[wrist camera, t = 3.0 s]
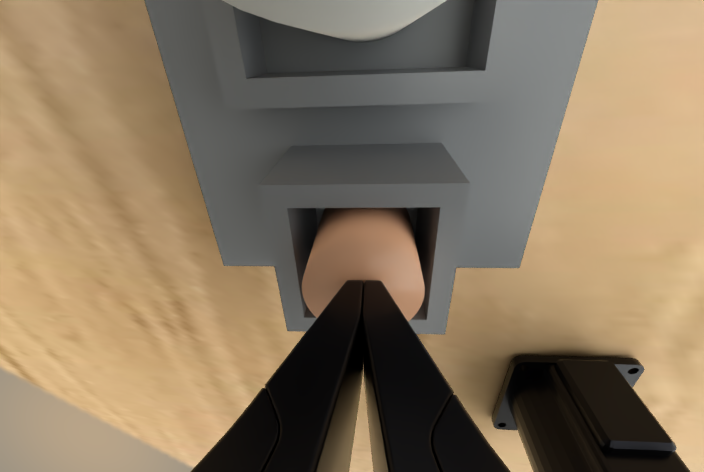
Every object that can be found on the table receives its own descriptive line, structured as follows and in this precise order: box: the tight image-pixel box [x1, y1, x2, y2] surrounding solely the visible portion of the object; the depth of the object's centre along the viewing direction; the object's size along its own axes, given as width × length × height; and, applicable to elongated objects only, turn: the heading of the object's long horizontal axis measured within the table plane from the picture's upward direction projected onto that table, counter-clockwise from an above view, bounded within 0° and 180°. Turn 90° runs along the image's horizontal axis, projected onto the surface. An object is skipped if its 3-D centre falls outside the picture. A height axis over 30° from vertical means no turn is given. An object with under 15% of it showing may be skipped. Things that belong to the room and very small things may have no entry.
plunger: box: [302, 207, 425, 321], centre depth 9 cm, size 3×3×3 cm
